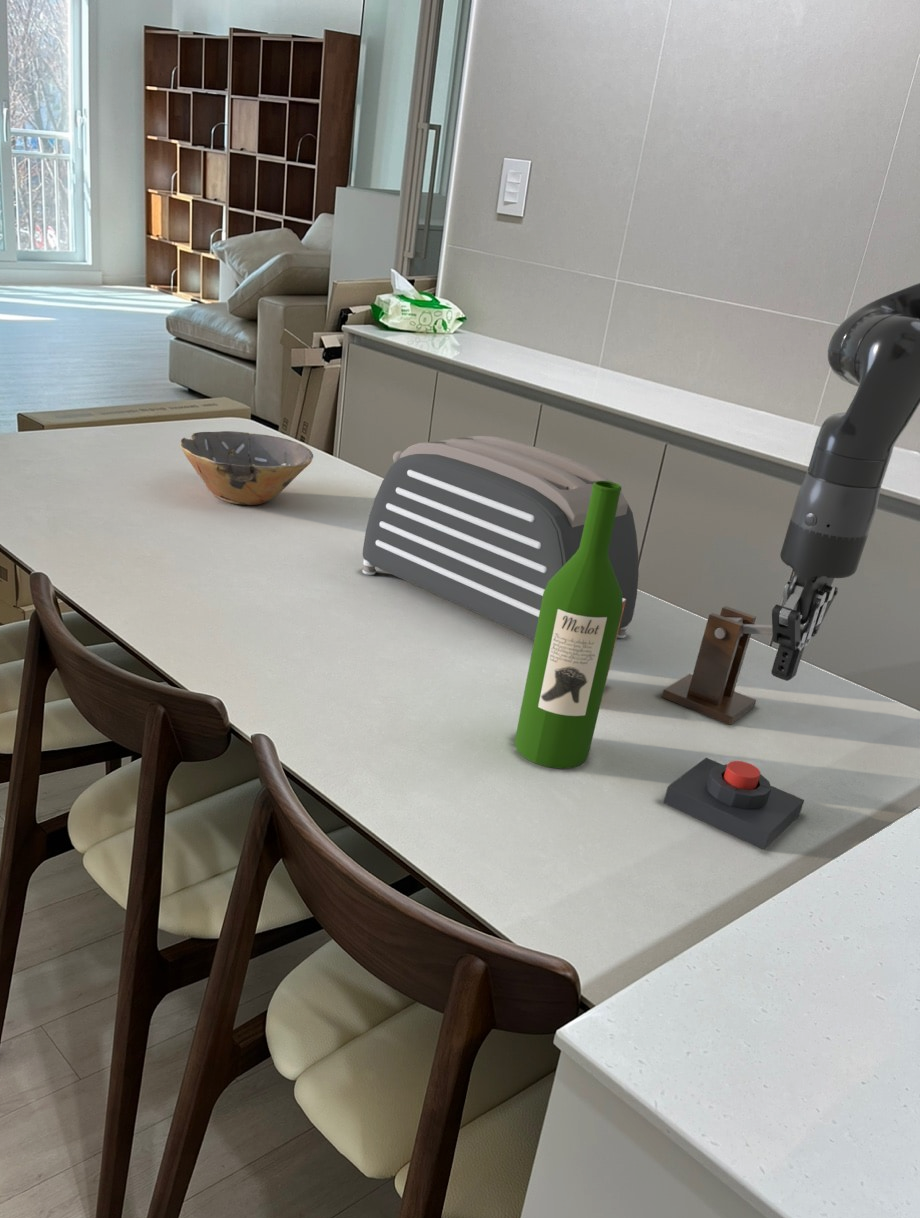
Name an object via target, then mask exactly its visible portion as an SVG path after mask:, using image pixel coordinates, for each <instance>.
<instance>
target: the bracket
mask: <svg viewBox="0 0 920 1218" xmlns="http://www.w3.org/2000/svg"><path fill="white" fill-rule="evenodd" d="M726 617H733V618H743V623H740V622H737V621H734V620H731V619H729V618H726ZM756 620H757V616H755V615H752V614H750V613H747V612H744V611H742V610H738V609H735V608H732V607H730V606H726V605H724V606H722V607H721V610H720V614H717V613H714V612H711V613H709V614H708V617H707V621H706V625H705V629H704V632H703V636H702V639H701V643H700V647H699V651H698V654H697V658H696V661H695V665H694V669H693V672H692V674H691V673H689V674H687V675H685V676H684V677H682V678H680V679H679V680H677V681H675V682H674V683H672V684H671V685H668V686H667V687H666V688H664V689H663V691H662V694H661V698H663V699H666V700H668V701H669V702H673V703H675V704H678V705H680V706H683V707H685V708H687V709H689V710H693V711H694V712H697V713H700V714H702V715H704V716H706V717H710V718H712V719H715V720H716V721H719V722H721V723H724V724H727V725H729V726H731V725H732V724H734V723H735V722H736V721H738V720H740V719H741V718H742V717H743V716H745V715H746V714H748V713H749V712H751V710H753V709H754V708H755V707H756V703H757V699H756V698H752V697H750V696H747V695H745V694H742V693H739V692H737V691H735V690H736V687H737V683H738V681H739V677H740V673H741V670H742V667H743V664H744V660H745V656H746V653H747V649H748V648H749V647H748V646H749V643H750V640H751V636H752V634H745V633H743V636H741V633H742V629H743V626H744V624H754V625H755V623H756ZM740 636H741V637H740Z"/></svg>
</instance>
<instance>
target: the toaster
mask: <svg viewBox="0 0 920 1218" xmlns="http://www.w3.org/2000/svg"><path fill="white" fill-rule="evenodd" d="M392 461H393V463H392V465H391V466H389V468H388V470H387V471H386V474H385V476H384V478H383V480H382V482H381V483H380V486H379V489H378V490H377V493H376V495H375V497H374V501H373V503H372V505H371V509H370V513H369V515H368V519H367V524H366V528H365V533H364V540H363V546H362V558H363V562H362V563H363V565H364V567H363V568H362V573H363V574H365V575H368V576H373V575H376V573H377V569H379V570H381V571H384V572H386V573H388V574H389V575H390V574H391V575H393V576H394V577H397V578H399V579H401V580H403V581H405V582H407V583H410V584H412V585H414V586H417V587H419V588H421V589H423V590H425V591H428V592H429V593H432V594H434V595H436V596H438V597H440V598H443V599H445V600H447V601H450V602H451V603H454V604H455V605H458V606H459V607H462V608H464V609H467V610H469V611H471V612H474V613H475V614H477V615H480V616H481V617H484V618H486V619H488V620H491V621H492V622H495V623H497V624H499V625H500V626H504V627H506V628H508V629H510V630H512V631H514V632H517V633H519V634H521V635H523V636H525V637H527V638H530V639H532V640H534V639H535V634H536V629H537V624H538V618H539V613H540V608H541V603H542V598H543V593H544V591H545V588H546V586H547V584H548V582H549V580H550V579H551V578H552V577H553V576H554V575H555V574H556V573H557V572H558V571H559V570H560V569H561V568H562V567H563V566H564V565H565V564H566V563H567V562H568V561H569V560H570V558H571V557H572V556H573V555H574V554H575V553H576V552H577V550H578V549H579V547H580V542H581V538H582V533H583V529H584V524H585V520H586V516H587V511H588V507H589V502H590V498H591V493H592V489H593V483H594V482H596V481H609V482H613V481H612V480H611V479H609V478H608V477H606V476H605V475H603V474H601V473H600V472H599V471H597V470H595V469H594V468H592V467H590V466H589V465H586V464H584V463H583V464H582V463H581V462H578V461H575V460H573V459H571V458H569V457H566V456H563V455H561V454H557V453H555V452H552V451H549V450H546V449H543V448H540V447H537V446H533V445H529V444H526V443H523V442H519V441H515V440H513V439H508V438H503V437H499V436H495V435H494V436H493V435H469V436H460V437H454V438H450V439H442V440H431V441H426V442H425V441H424V442H418V443H415V444H412V445H409V446H408V447H407V448H405V450H404V451H403V450H398V451H395V452H394V453H393V455H392ZM637 535H638V534H637V530H636V524H635V519H634V513H633V511H632V509H631V507H630V505H629V503H628V501H627V498H626V497H625V495H624V494H623V492H622V490H621V491H620V496H619V501H618V506H617V511H616V516H615V521H614V526H613V531H612V535H611V540H610V545H609V550H608V556H609V560H610V563H611V565H612V568H613V570H614V573H615V576H616V578H617V581H618V583H619V586H620V589H621V591H622V596H623V598H624V599H626V602H625V606H624V610H623V615H622V619H621V622H620V627H619V631H618V635H617V639H618V638H620V639H624V638H626V637H627V632H626V630H627V629H629V625H630V624H631V622H632V621H633V617H634V614H635V608H636V602H637V597H638V586H639V576H640V575H639V573H640V571H639V548H638V538H637V537H638V536H637ZM376 568H377V569H376Z"/></svg>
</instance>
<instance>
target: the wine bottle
mask: <svg viewBox="0 0 920 1218" xmlns="http://www.w3.org/2000/svg"><path fill="white" fill-rule="evenodd" d="M620 491H621V492H622V486H621V485H620V484H619V483H616V482H614V481H612V482H609V481H596V482H594V483H593V489H592V493H591V498H590V502H589V507H588V511H587V516H586V520H585V524H584V529H583V533H582V538H581V542H580V547H579V549H578V550H577V552H576V553H575V554H574V555H573V556H572V557H571V558H570V560H569V561H568V562H567V563H566V564H565V565H564V566H563V567H562V568H561V569H560V570H559V571H558V572H557V573H556V574H555V575H554V576H553V577H552V578H551V579H550V580H549V582H548V584H547V586H546V588H545V591H544V593H543V598H542V603H541V608H540V613H539V618H538V624H537V629H536V634H535V639H533V645H532V650H531V655H530V660H529V666H528V671H527V676H526V679H525V680H526V681H525V687H524V692H523V696H522V701H521V706H520V707H521V708H520V712H519V715H518V716H519V717H518V723H517V727H516V732H515V737H514V745H515V749H516V751H517V752H518V753H519V754H520V755H521V756H522V757H523V758H524V759H526V760H528V761H530V762H532V763H534V764H536V765H539V766H542V767H546V768H551V769H572V768H576V767H579V766H581V765H582V764H584V763H585V762H586V760H587V759H588V757H589V755H590V751H591V746H592V743H593V738H594V734H595V729H596V726H597V721H598V718H599V712H600V708H601V703H602V699H603V695H604V692H605V687H606V685H605V683H606V684H607V681H606V679H607V680H608V676H607V674H608V675H609V672H608V670H609V671H610V668H609V666H610V667H611V664H610V661H611V662H612V660H611V657H612V658H613V656H612V653H613V654H614V652H613V649H614V650H615V647H614V644H615V645H616V643H615V640H616V641H617V639H616V636H617V632H618V627H619V623H620V619H621V614H622V610H623V596H622V591H621V589H620V586H619V583H618V581H617V578H616V576H615V573H614V570H613V568H612V565H611V563H610V560H609V556H608V550H609V545H610V540H611V535H612V531H613V526H614V521H615V516H616V511H617V506H618V501H619V496H620Z"/></svg>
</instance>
